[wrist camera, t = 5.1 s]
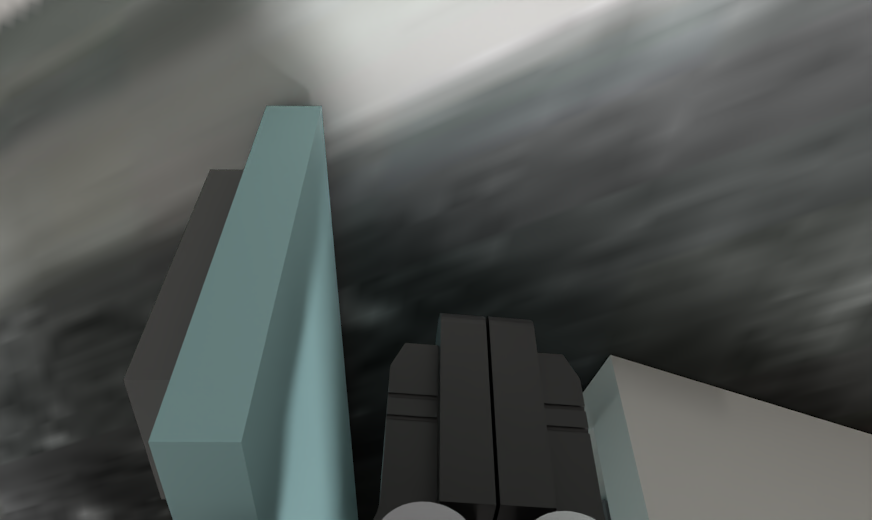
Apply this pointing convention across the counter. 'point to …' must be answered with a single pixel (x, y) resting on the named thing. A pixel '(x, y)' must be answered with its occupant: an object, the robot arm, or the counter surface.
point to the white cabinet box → (717, 453)
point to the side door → (251, 344)
